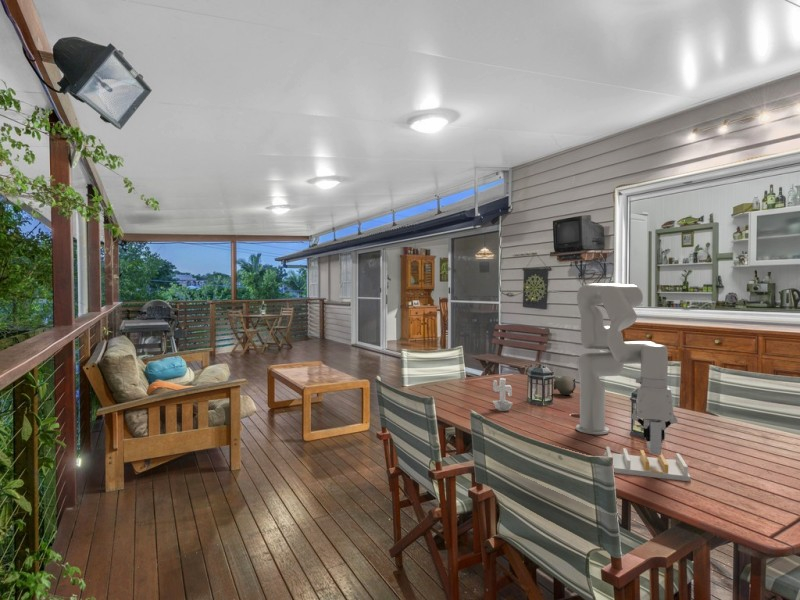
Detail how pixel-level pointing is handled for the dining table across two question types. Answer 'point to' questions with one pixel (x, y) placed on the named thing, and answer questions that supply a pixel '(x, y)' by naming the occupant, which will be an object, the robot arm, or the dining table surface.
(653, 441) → the panel
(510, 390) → the figurine
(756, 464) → the dining table surface
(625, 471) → the rack
